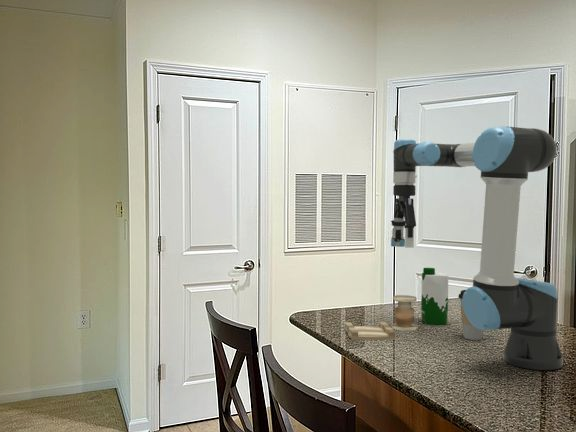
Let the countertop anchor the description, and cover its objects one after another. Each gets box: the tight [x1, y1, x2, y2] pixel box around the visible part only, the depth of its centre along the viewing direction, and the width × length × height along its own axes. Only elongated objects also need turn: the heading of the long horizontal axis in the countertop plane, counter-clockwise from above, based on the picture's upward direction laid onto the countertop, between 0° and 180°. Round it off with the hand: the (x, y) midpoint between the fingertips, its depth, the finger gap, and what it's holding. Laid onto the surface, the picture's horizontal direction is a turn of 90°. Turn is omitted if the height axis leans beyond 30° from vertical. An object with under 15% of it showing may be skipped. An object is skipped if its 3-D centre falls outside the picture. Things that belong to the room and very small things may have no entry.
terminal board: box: [344, 321, 397, 341], centre depth 182 cm, size 14×14×3 cm
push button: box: [390, 217, 406, 248], centre depth 196 cm, size 7×5×10 cm
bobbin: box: [390, 294, 418, 332], centre depth 190 cm, size 9×9×11 cm
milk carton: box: [420, 267, 449, 326], centre depth 198 cm, size 9×9×20 cm
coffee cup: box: [457, 289, 484, 341], centre depth 179 cm, size 9×9×15 cm
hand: (403, 245), depth 192 cm, fingers open, 13 cm apart
